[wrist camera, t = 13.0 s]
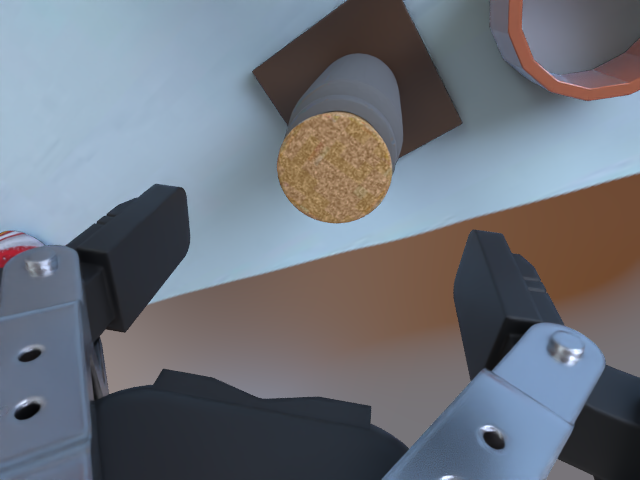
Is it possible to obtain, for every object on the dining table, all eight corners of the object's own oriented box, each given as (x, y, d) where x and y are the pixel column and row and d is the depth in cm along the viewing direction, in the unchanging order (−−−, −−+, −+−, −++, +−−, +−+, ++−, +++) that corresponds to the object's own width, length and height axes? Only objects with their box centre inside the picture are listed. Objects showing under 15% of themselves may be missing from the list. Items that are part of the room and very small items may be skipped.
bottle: (346, 151, 32) (316, 256, 19) (301, 85, 30) (234, 151, 17) (414, 108, 29) (434, 194, 17) (370, 33, 27) (354, 64, 15)
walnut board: (255, 69, 31) (251, 71, 30) (387, -29, 26) (387, -30, 26) (334, 189, 34) (333, 194, 34) (460, 120, 30) (462, 123, 29)
